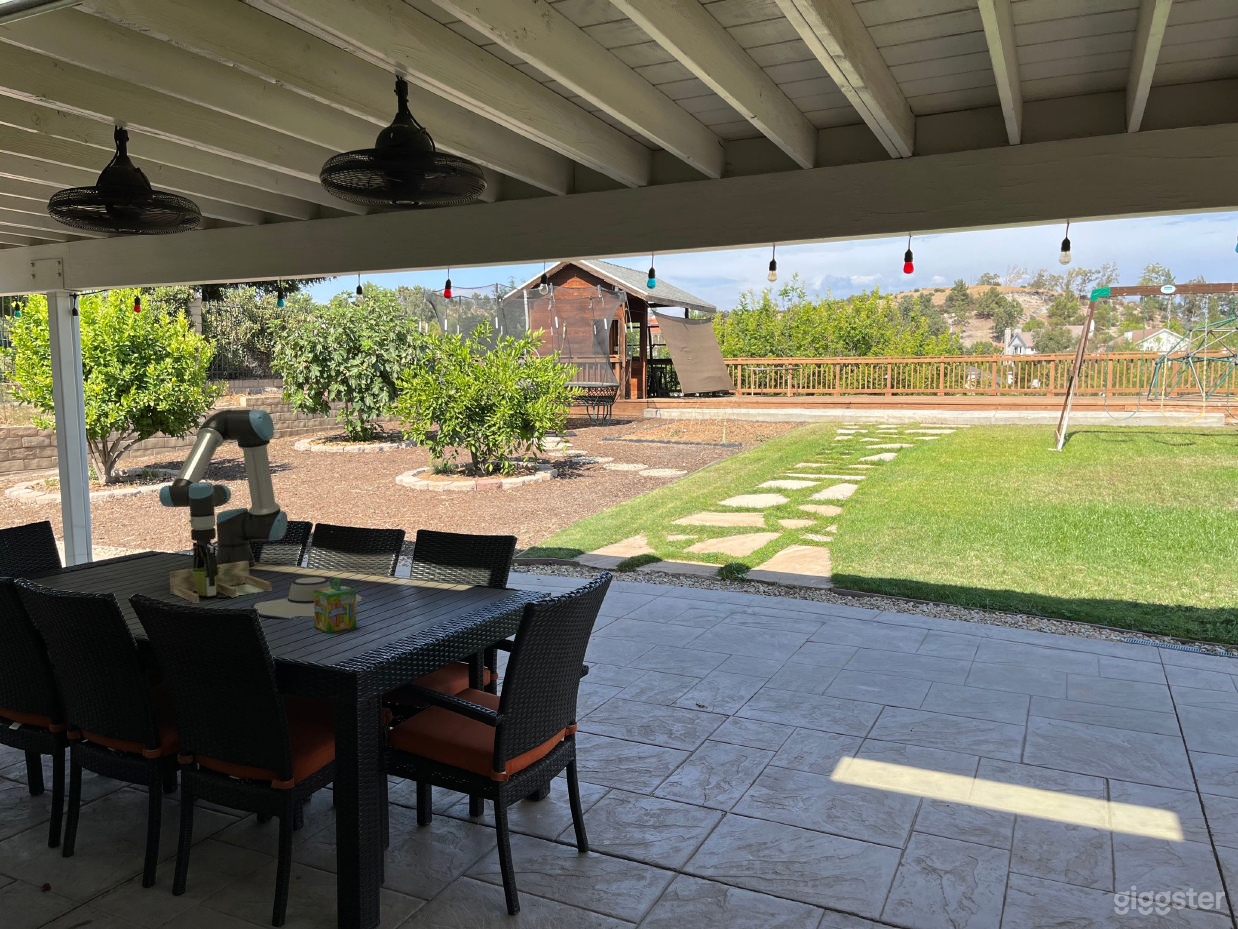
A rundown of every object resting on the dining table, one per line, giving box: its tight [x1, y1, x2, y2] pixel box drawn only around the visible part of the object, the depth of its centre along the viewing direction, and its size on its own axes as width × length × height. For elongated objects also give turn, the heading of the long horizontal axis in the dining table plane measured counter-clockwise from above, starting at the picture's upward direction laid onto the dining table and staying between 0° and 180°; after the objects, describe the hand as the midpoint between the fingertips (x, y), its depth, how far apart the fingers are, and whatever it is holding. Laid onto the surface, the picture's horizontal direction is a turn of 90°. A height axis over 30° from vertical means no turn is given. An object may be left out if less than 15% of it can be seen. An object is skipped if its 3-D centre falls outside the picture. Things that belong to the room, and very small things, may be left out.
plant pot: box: [191, 566, 221, 597], centre depth 296 cm, size 9×9×9 cm
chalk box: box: [313, 576, 357, 634], centre depth 254 cm, size 9×9×15 cm
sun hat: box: [250, 576, 363, 620], centre depth 283 cm, size 36×36×9 cm
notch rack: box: [169, 561, 273, 604], centre depth 301 cm, size 27×21×8 cm
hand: (206, 593), depth 296 cm, fingers closed on plant pot, 8 cm apart
